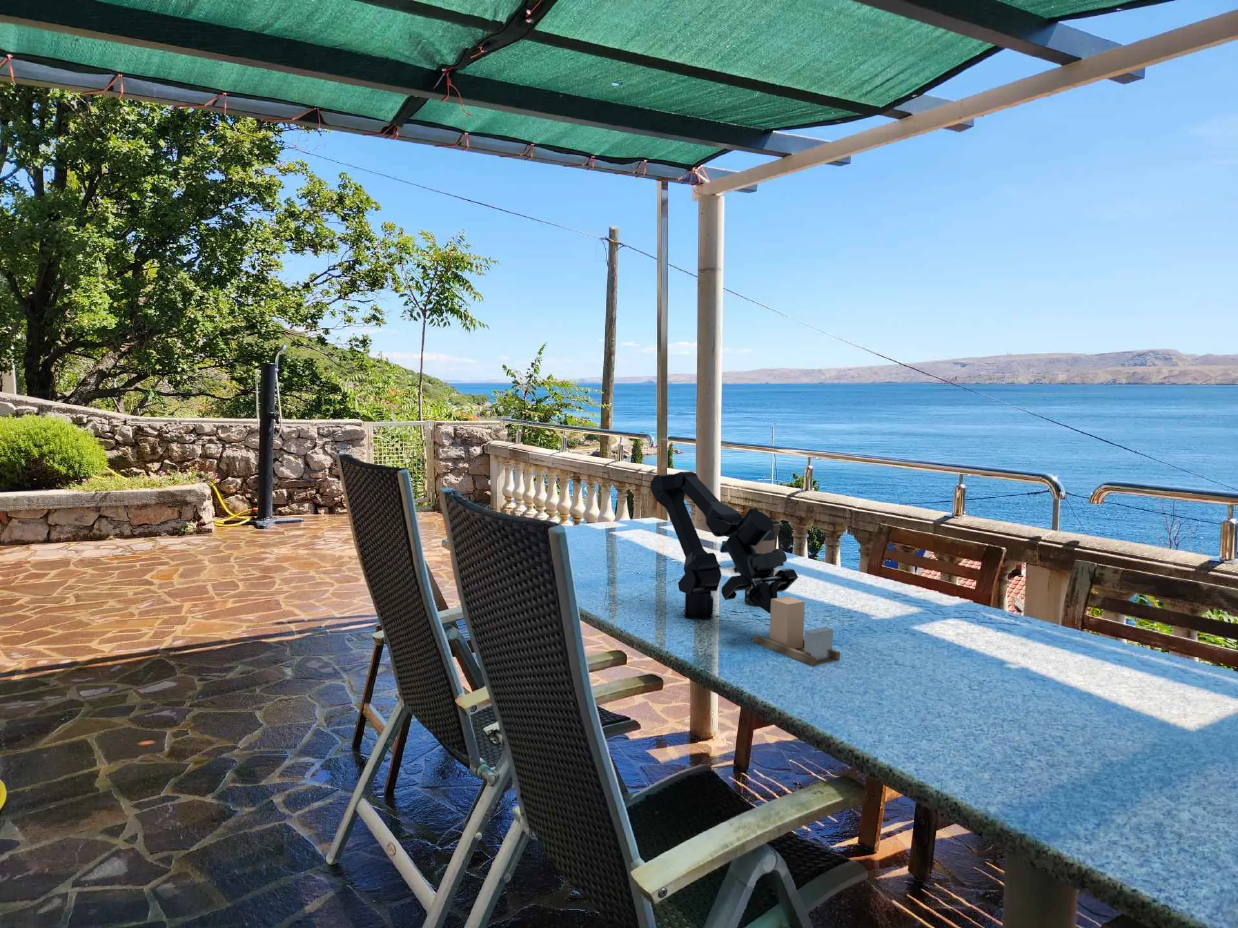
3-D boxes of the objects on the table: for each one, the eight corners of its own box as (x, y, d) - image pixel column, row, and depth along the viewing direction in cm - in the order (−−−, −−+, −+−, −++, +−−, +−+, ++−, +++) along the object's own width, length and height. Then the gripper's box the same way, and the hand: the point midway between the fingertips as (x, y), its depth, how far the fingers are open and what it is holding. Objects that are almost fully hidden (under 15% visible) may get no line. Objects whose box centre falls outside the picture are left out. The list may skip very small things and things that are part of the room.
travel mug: (764, 608, 197) (767, 532, 195) (738, 603, 201) (741, 529, 200) (777, 602, 203) (780, 529, 201) (751, 597, 207) (754, 525, 206)
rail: (753, 645, 166) (754, 635, 165) (780, 640, 170) (780, 630, 170) (811, 669, 151) (812, 658, 151) (839, 663, 155) (839, 651, 155)
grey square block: (803, 664, 154) (805, 630, 154) (824, 659, 158) (825, 626, 157) (810, 667, 153) (812, 633, 152) (831, 662, 156) (833, 629, 155)
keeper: (769, 644, 164) (771, 598, 163) (786, 640, 166) (787, 596, 165) (785, 650, 159) (787, 604, 159) (802, 647, 162) (804, 601, 161)
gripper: (731, 540, 163) (765, 601, 154) (793, 533, 173) (828, 591, 164) (707, 569, 170) (738, 629, 162) (768, 561, 180) (800, 618, 172)
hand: (777, 616), depth 165 cm, fingers closed, pressing on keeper
